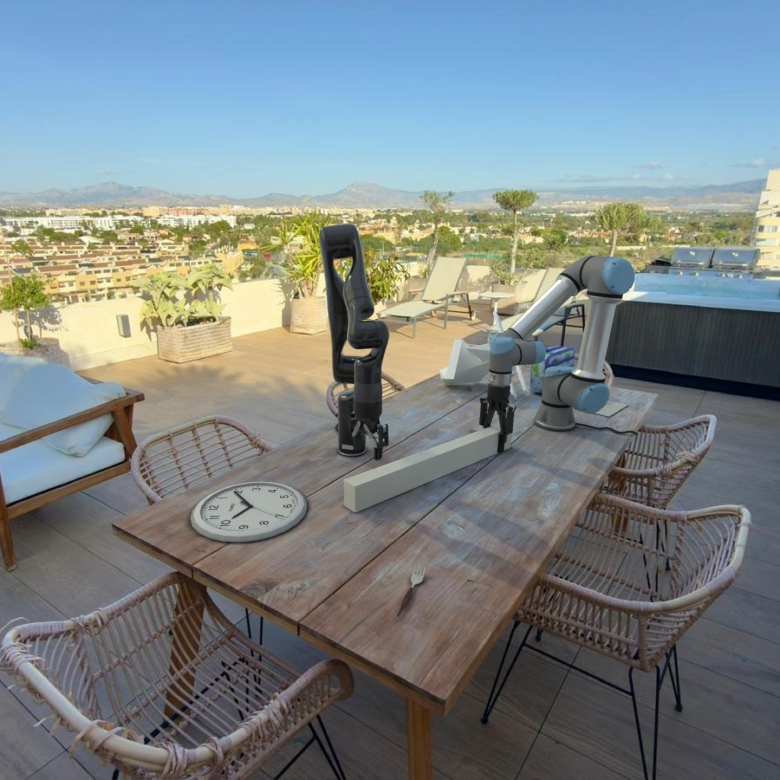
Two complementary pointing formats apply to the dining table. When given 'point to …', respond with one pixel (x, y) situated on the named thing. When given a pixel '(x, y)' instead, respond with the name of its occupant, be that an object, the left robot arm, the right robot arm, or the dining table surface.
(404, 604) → the fork
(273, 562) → the dining table surface
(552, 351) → the lunch box
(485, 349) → the white plastic object
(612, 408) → the invitation card
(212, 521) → the wall clock
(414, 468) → the bar
